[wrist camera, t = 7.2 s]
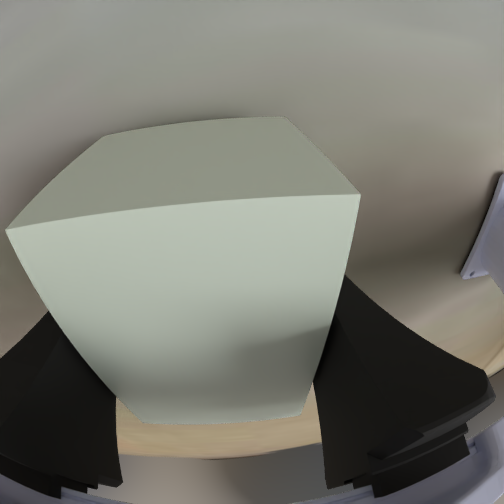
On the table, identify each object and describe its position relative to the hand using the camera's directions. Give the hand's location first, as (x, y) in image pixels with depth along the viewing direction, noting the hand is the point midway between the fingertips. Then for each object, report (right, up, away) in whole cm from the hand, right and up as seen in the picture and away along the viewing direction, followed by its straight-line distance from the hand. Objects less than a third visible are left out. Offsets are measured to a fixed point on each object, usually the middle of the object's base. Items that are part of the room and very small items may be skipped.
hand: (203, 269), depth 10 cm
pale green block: (0, +1, +1) cm, 2 cm away
